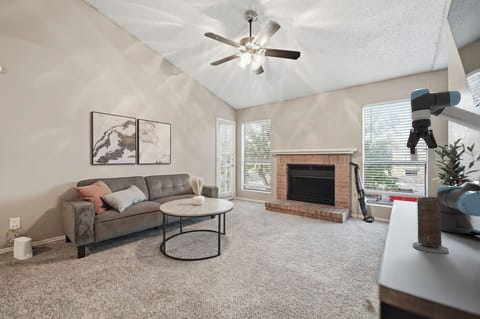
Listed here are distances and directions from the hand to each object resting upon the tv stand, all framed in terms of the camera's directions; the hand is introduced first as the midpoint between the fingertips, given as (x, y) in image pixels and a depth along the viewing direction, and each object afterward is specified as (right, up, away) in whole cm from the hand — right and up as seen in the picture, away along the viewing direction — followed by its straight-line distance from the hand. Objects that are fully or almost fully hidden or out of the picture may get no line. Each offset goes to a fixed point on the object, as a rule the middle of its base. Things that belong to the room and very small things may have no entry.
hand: (423, 161), depth 111 cm
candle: (-16, -35, -22) cm, 44 cm away
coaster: (-16, -36, -22) cm, 45 cm away
